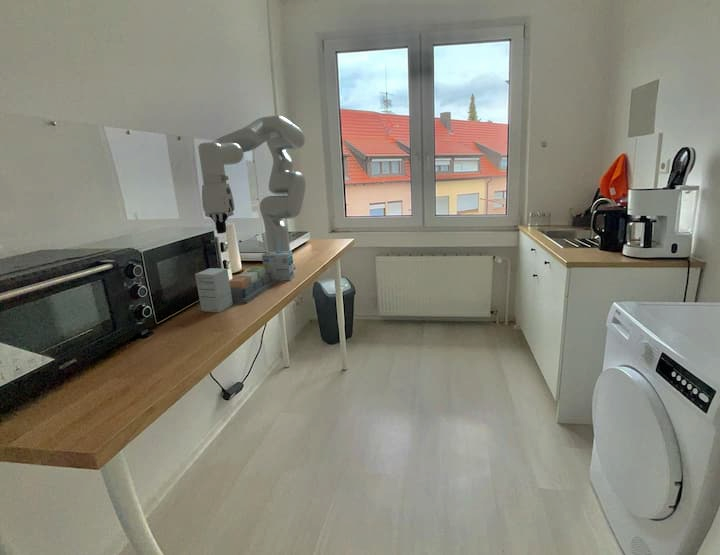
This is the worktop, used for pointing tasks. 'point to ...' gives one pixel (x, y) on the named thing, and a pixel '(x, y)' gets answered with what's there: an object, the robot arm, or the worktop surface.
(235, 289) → the grey long rectangular frame
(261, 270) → the sage button
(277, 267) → the light bulb box
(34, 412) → the worktop surface
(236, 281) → the terracotta button
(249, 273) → the cream button
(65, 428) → the worktop surface
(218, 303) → the supplement box
